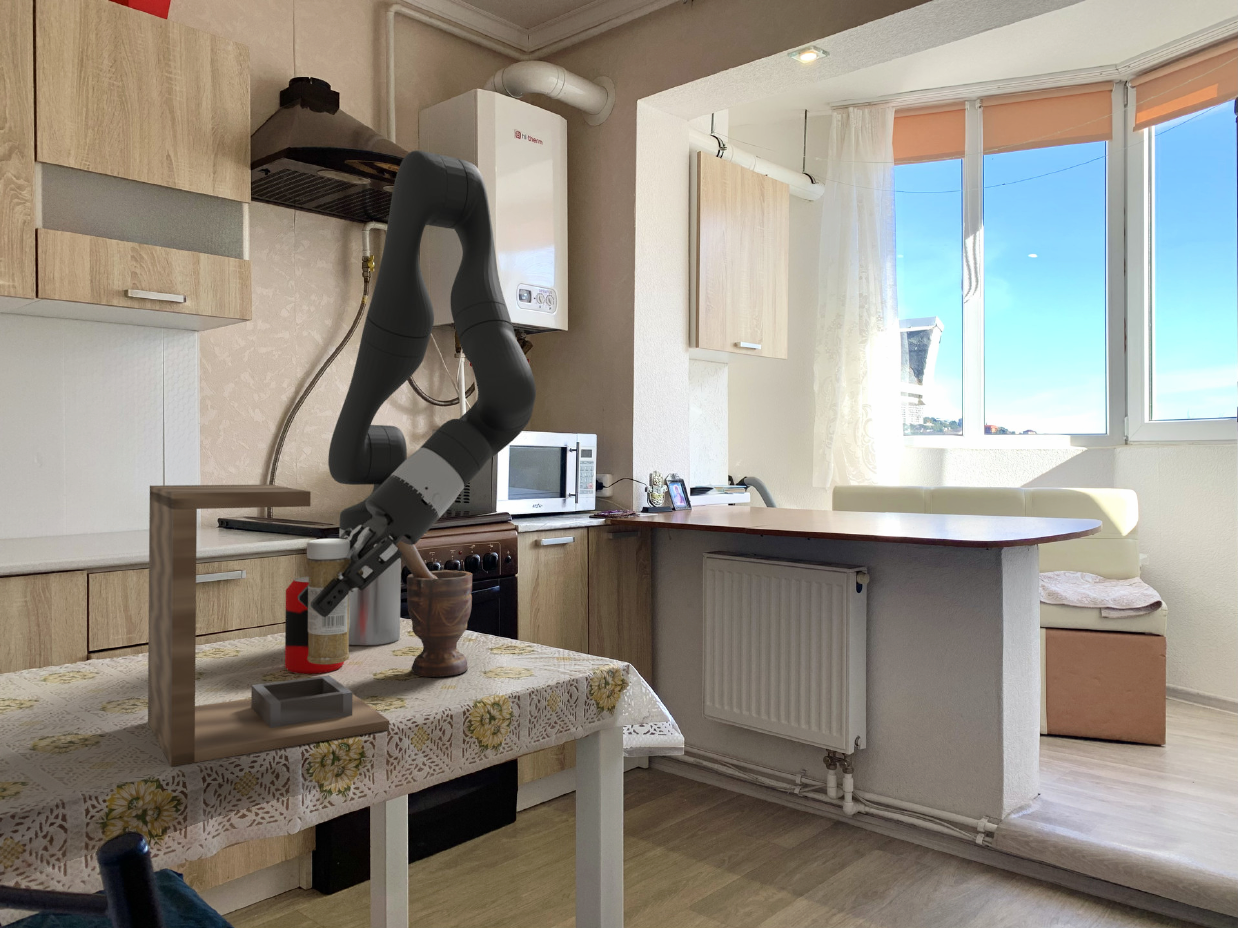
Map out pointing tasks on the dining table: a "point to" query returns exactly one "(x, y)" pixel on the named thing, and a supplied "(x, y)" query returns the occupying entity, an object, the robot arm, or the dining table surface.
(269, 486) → the overhang stand
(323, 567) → the sprinkles bottle
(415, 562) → the mortar and pestle
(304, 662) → the soda can
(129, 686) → the dining table surface
